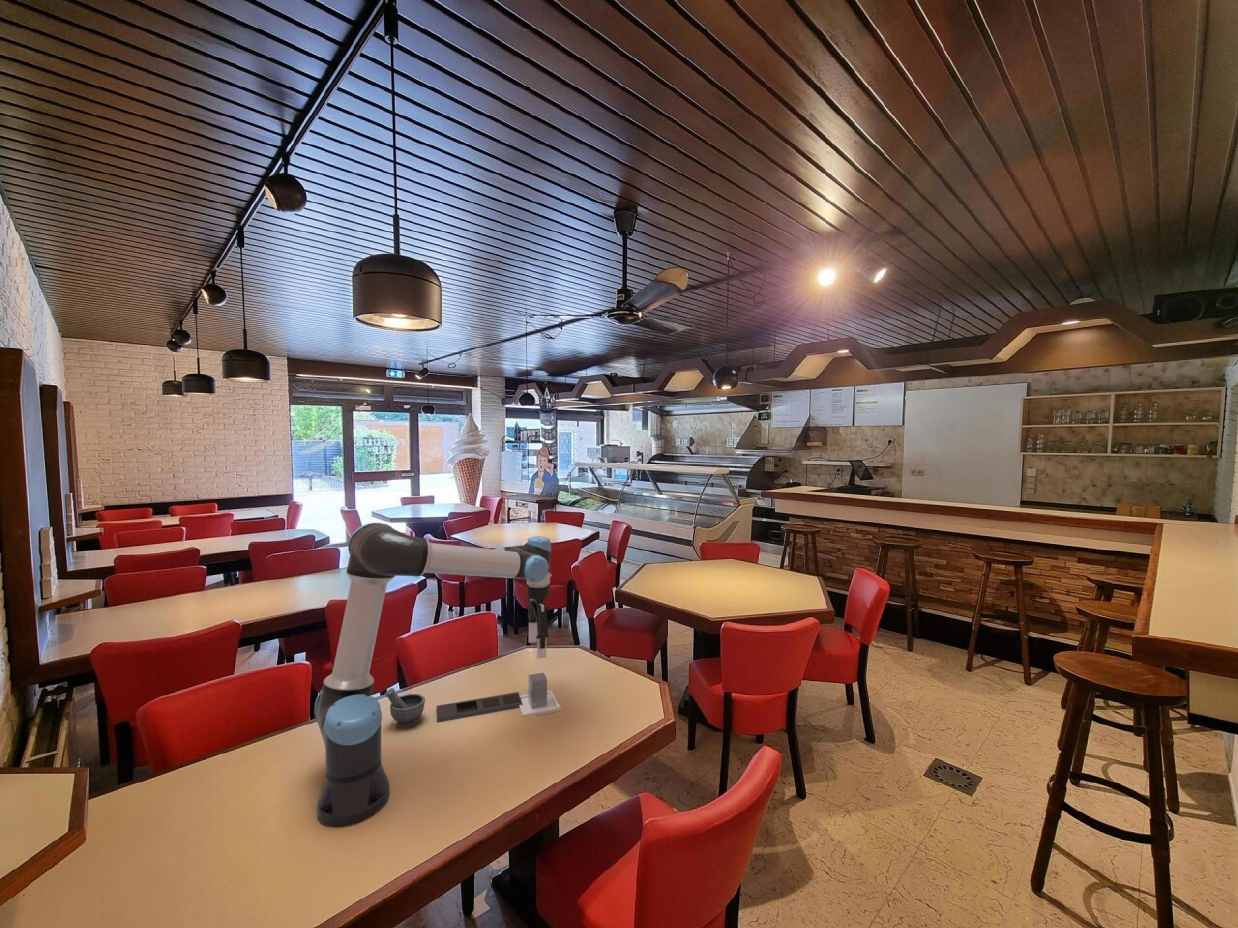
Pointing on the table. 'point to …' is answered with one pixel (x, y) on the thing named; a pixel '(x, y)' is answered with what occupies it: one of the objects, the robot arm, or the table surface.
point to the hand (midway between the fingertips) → (536, 649)
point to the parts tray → (550, 708)
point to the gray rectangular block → (537, 690)
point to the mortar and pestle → (405, 708)
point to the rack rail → (478, 706)
